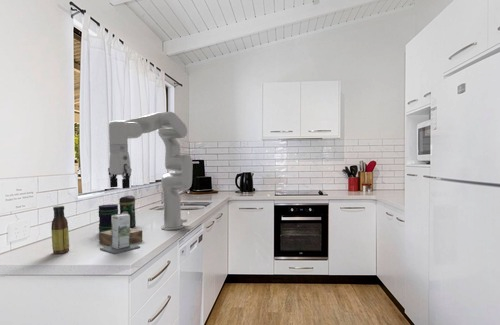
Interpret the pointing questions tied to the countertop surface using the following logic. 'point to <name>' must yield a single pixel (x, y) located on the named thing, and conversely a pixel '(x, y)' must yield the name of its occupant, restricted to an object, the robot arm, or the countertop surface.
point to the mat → (115, 251)
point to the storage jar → (106, 216)
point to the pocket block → (107, 236)
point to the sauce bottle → (60, 231)
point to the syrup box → (120, 231)
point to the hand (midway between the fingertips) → (119, 187)
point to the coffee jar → (128, 208)
